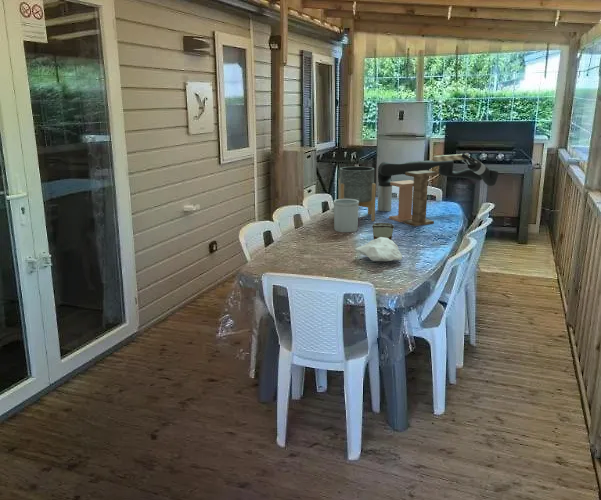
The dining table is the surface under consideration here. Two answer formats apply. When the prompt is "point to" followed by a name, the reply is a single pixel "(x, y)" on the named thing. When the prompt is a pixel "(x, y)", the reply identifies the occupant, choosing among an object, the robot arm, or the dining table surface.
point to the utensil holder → (346, 215)
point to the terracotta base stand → (404, 200)
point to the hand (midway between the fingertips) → (460, 154)
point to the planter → (358, 187)
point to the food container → (382, 230)
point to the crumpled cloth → (380, 250)
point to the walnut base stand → (419, 197)
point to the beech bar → (448, 157)
